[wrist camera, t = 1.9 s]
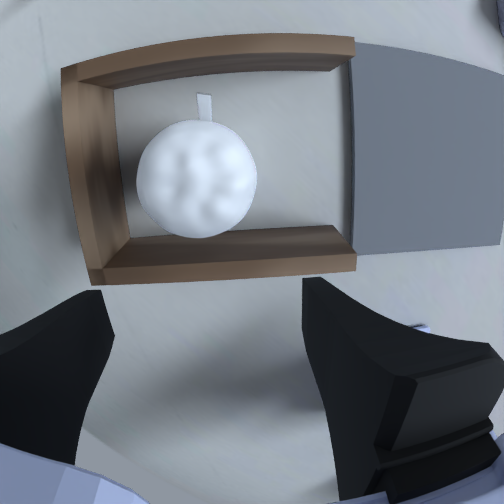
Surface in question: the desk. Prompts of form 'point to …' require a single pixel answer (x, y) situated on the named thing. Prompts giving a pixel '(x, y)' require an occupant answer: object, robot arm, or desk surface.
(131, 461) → the desk surface
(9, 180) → the desk surface
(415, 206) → the mat
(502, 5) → the stone block
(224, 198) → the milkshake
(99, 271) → the open box
